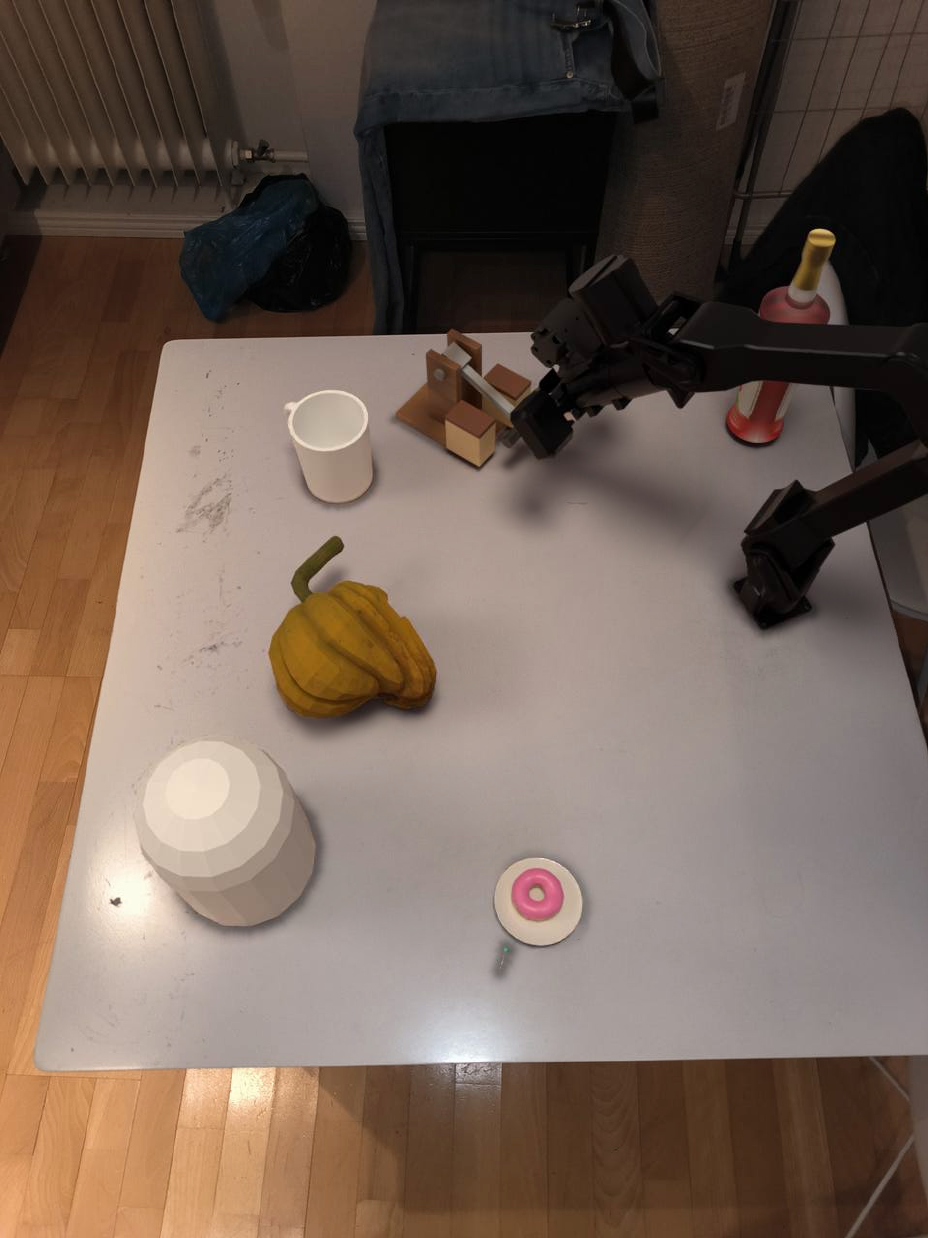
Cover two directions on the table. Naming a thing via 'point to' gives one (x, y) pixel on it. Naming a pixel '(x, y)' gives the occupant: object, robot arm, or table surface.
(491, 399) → the blade lever
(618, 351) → the robot arm
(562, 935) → the donut on plate
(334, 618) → the pumpkin
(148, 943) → the table surface
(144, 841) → the container
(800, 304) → the liquor
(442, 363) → the slicer
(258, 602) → the table surface
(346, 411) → the mug
